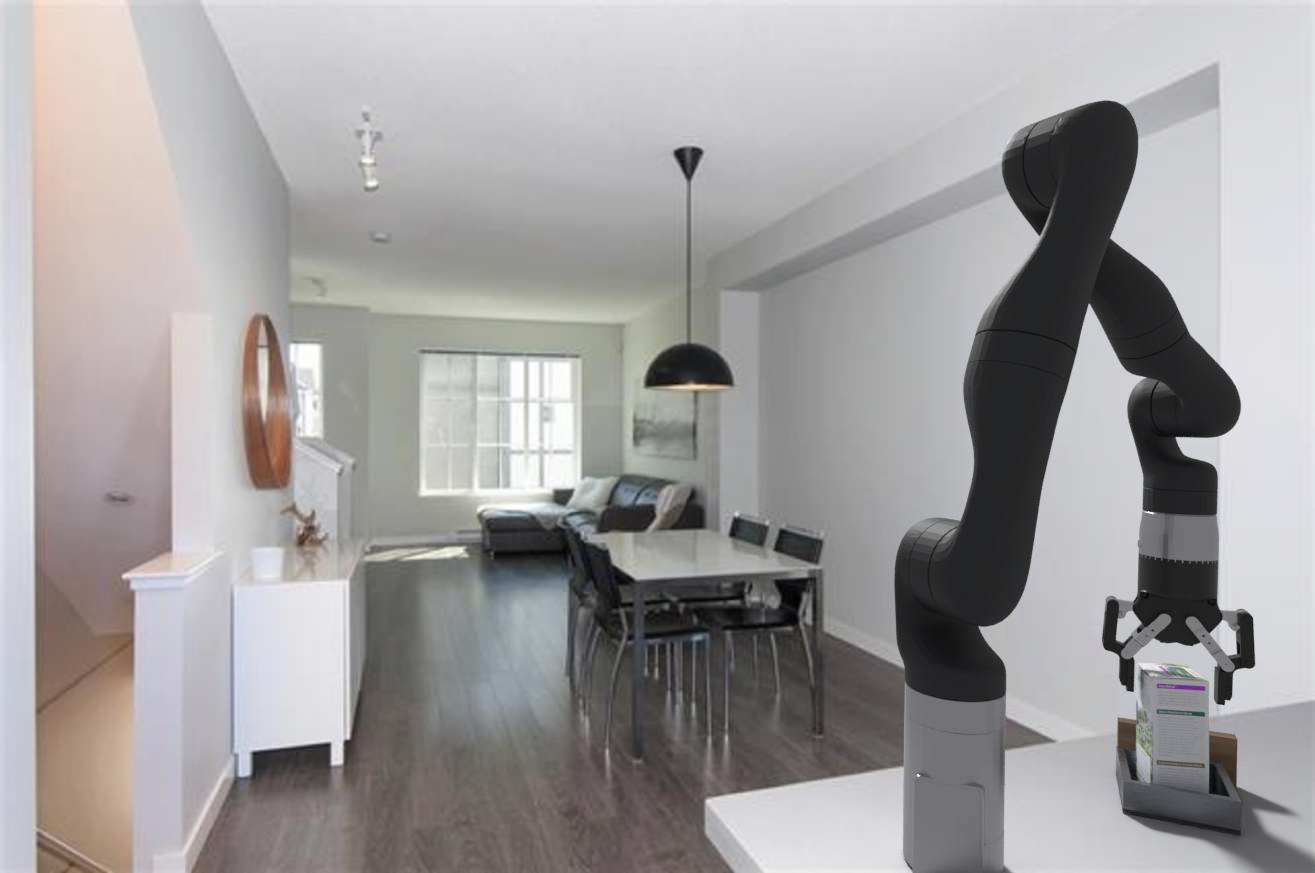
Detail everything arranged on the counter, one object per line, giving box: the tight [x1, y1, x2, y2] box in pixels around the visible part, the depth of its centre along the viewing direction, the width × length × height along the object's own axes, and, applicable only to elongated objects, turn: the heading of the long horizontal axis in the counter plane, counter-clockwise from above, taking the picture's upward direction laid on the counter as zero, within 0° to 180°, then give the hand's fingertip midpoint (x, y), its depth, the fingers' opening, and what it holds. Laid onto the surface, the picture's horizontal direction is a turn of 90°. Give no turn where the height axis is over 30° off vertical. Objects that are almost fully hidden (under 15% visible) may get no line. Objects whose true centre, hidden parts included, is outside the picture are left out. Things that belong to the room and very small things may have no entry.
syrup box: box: [1135, 662, 1210, 793], centre depth 89 cm, size 6×6×14 cm
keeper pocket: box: [1115, 745, 1242, 836], centre depth 90 cm, size 11×11×4 cm
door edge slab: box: [1116, 716, 1238, 791], centre depth 96 cm, size 2×12×6 cm, turn 64°
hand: (1173, 696), depth 89 cm, fingers open, 8 cm apart
